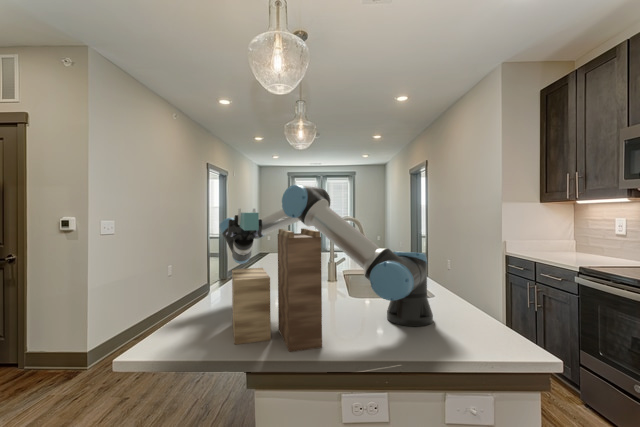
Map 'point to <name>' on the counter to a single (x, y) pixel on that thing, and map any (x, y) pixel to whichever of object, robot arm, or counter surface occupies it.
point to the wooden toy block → (251, 305)
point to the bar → (249, 221)
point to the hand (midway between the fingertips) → (247, 212)
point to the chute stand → (300, 289)
